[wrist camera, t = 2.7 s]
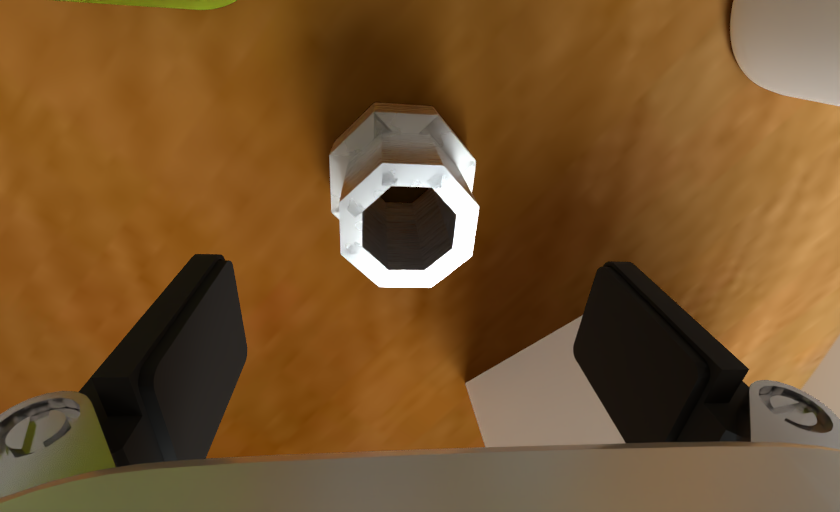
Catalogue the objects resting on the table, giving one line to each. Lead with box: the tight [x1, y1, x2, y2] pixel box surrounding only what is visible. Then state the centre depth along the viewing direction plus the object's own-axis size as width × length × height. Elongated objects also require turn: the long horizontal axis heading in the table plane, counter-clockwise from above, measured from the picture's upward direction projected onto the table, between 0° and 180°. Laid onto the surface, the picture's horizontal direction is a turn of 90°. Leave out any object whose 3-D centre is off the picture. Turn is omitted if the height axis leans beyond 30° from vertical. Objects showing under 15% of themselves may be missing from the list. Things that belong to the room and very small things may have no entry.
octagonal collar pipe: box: [329, 102, 479, 287], centre depth 16 cm, size 6×6×6 cm
